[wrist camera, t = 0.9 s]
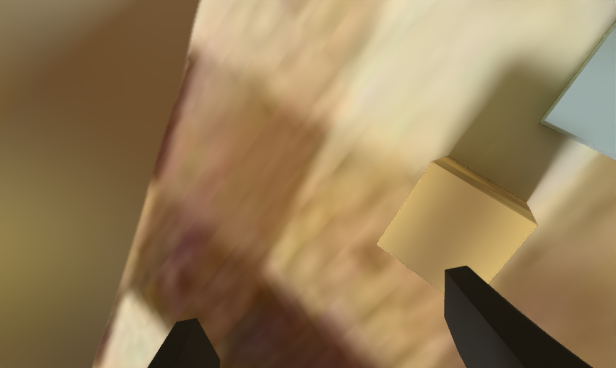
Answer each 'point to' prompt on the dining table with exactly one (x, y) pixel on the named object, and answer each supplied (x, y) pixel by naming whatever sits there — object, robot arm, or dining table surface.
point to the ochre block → (457, 224)
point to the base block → (590, 101)
